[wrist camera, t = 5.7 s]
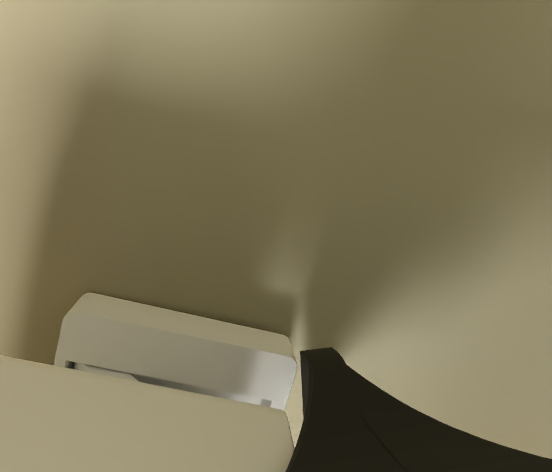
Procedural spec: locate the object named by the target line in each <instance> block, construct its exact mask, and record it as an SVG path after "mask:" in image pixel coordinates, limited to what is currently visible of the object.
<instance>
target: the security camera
mask: <svg viewBox="0 0 552 472" xmlns="http://www.w3.org/2000/svg"><path fill="white" fill-rule="evenodd" d="M296 372H297V363H296V359H295V356H294V353H293V349H292V346H291V343H290V340H289V338H288V337H286V336H285V335H282V334H278V333H273V332H268V331H264V330H259V329H255V328H250V327H246V326H241V325H237V324H232V323H228V322H223V321H219V320H214V319H210V318H205V317H200V316H196V315H191V314H187V313H182V312H178V311H173V310H169V309H164V308H160V307H155V306H151V305H146V304H141V303H137V302H132V301H128V300H123V299H119V298H114V297H110V296H105V295H101V294H96V293H86V294H84V295H82V296H81V297H80V298H79V300H78V301H77V302H76V303H75V305H74V306H73V307H72V308H71V309H70V311H69V312H68V313H67V314H66V316H65V317H64V318H63V321H62V325H61V330H60V335H59V340H58V345H57V349H56V354H55V359H54V364H53V365H49V364H44V363H39V362H33V361H28V360H23V359H18V358H13V357H8V356H3V355H0V472H285V471H286V469H287V467H288V465H289V462H290V460H291V457H292V455H293V452H294V445H293V440H292V436H291V431H290V426H289V422H288V418H287V415H286V413H285V411H284V409H285V406H286V403H287V400H288V397H289V394H290V391H291V387H292V384H293V381H294V378H295V375H296Z"/></svg>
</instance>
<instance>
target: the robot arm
mask: <svg viewBox="0 0 552 472" xmlns="http://www.w3.org/2000/svg"><path fill="white" fill-rule="evenodd" d="M300 357H301V378H302V398H303V419H304V420H303V424H302V428H301V431H300V435H299V438H298V441H297V444H296V447H295V449H294V452H293V455H292V457H291V460H290V462H289V465H288V467H287V469H286V471H285V472H552V459H549V458H544V457H540V456H536V455H533V454H529V453H526V452H522V451H519V450H516V449H512V448H509V447H505V446H502V445H499V444H496V443H493V442H490V441H487V440H484V439H481V438H479V437H476V436H474V435H471V434H469V433H466V432H463V431H461V430H458V429H456V428H453V427H451V426H449V425H446V424H444V423H442V422H440V421H437V420H435V419H433V418H431V417H429V416H427V415H425V414H423V413H421V412H419V411H417V410H415V409H413V408H411V407H410V406H408V405H406V404H404V403H403V402H401V401H399V400H398V399H396V398H394V397H393V396H391V395H389V394H388V393H386V392H384V391H383V390H381V389H380V388H378V387H377V386H375V385H374V384H372V383H371V382H369V381H368V380H367V379H365V378H364V377H362V376H361V375H360V374H358V373H357V372H355V371H354V370H353V369H351V368H350V367H349V366H347V365H346V363H345V361H344V360H343V358H342V357H341V356H340V354H339V353H338V352H337V351H336V350H334V349H333V348H332V347H330V348H322V349H313V350H305V351H300Z"/></svg>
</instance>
